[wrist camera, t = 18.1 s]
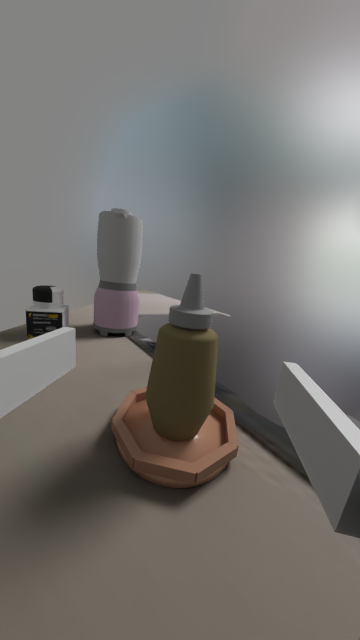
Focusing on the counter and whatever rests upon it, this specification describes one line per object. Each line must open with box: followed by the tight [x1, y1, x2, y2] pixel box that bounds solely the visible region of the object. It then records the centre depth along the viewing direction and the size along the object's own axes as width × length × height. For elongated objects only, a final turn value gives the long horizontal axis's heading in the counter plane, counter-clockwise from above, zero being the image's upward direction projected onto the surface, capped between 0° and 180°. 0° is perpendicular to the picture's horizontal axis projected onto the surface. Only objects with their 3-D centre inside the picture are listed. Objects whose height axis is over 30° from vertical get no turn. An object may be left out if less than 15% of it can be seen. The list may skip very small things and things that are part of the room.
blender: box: [93, 208, 143, 337], centre depth 59 cm, size 16×12×32 cm
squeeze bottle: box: [145, 274, 218, 442], centre depth 23 cm, size 8×8×18 cm
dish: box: [111, 387, 238, 488], centre depth 26 cm, size 14×14×2 cm
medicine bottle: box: [26, 286, 69, 340], centre depth 50 cm, size 7×7×12 cm
